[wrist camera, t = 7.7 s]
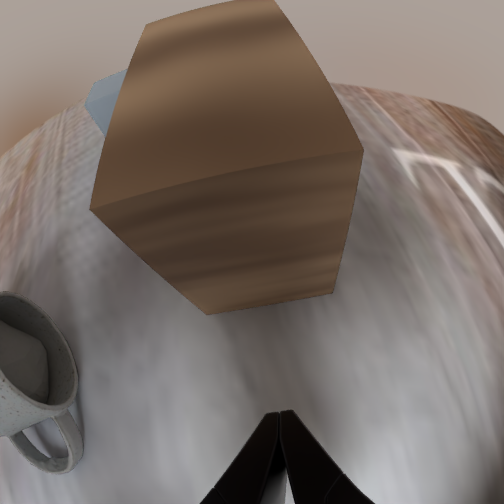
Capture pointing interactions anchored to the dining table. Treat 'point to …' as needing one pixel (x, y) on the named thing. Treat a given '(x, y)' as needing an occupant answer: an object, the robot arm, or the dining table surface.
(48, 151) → the dining table surface
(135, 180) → the walnut block
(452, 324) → the dining table surface
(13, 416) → the ceramic mug
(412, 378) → the dining table surface
